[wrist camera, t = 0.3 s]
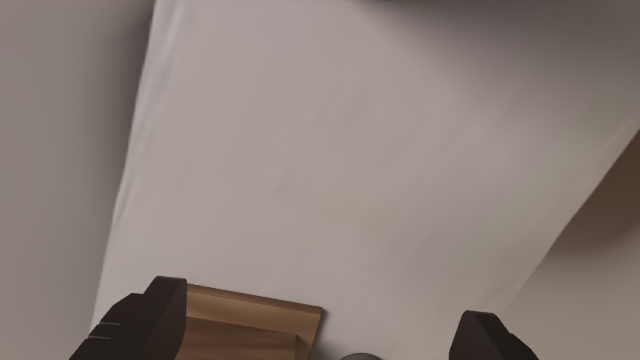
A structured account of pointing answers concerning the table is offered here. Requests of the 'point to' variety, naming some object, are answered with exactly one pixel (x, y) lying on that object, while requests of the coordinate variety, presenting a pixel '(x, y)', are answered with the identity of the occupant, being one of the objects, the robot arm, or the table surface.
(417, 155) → the table surface
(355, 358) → the bottle
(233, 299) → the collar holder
